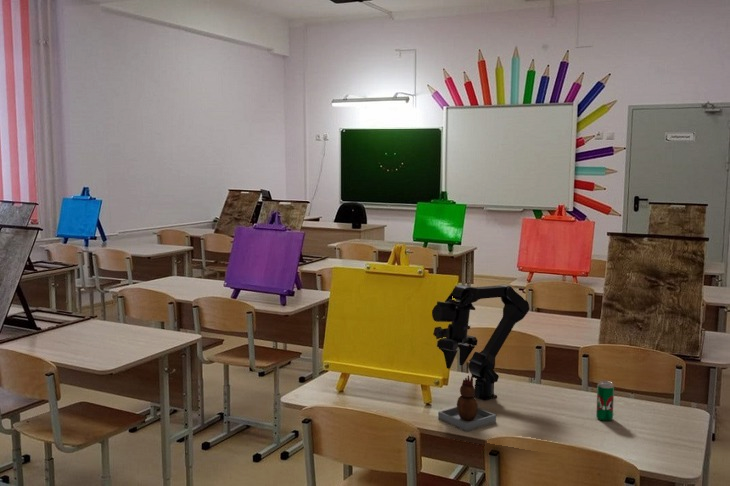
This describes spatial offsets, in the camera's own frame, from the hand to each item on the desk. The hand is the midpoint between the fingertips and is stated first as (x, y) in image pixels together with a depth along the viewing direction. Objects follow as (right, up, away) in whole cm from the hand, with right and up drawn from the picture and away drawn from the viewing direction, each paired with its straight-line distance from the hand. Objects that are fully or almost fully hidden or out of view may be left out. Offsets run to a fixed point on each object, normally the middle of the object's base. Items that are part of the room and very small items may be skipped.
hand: (454, 366), depth 232 cm
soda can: (+47, -14, -14) cm, 51 cm away
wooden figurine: (+2, -14, -15) cm, 21 cm away
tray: (+2, -15, -15) cm, 21 cm away
